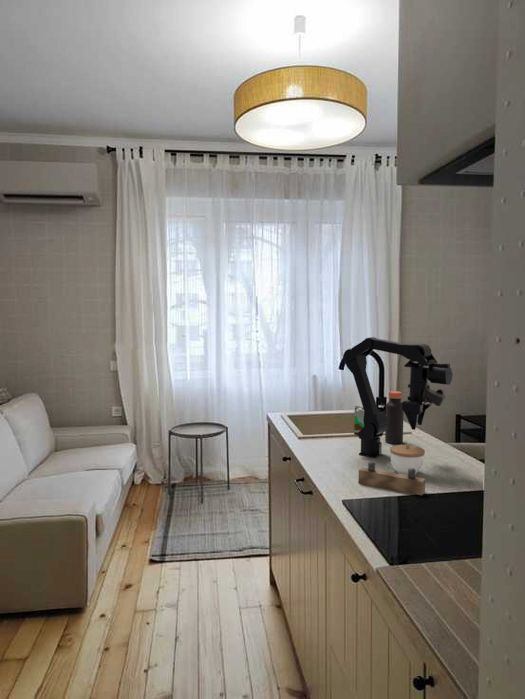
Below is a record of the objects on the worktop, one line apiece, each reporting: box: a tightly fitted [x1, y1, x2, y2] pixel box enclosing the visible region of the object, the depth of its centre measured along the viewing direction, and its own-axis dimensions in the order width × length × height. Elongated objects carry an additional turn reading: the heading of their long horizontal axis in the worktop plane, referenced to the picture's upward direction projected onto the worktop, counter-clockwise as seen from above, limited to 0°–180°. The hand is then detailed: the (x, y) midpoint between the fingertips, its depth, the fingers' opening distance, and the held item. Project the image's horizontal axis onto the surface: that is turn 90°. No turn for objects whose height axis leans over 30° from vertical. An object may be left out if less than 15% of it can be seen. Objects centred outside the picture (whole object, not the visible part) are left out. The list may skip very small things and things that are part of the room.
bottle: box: [384, 390, 405, 445], centre depth 198 cm, size 7×7×20 cm
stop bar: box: [357, 461, 426, 496], centre depth 148 cm, size 19×3×6 cm, turn 58°
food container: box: [353, 405, 364, 435], centre depth 215 cm, size 12×6×10 cm, turn 168°
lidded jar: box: [389, 443, 426, 476], centre depth 161 cm, size 11×11×9 cm
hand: (416, 427), depth 169 cm, fingers open, 8 cm apart
